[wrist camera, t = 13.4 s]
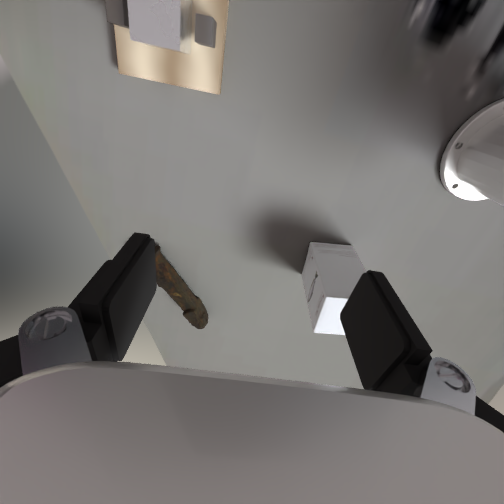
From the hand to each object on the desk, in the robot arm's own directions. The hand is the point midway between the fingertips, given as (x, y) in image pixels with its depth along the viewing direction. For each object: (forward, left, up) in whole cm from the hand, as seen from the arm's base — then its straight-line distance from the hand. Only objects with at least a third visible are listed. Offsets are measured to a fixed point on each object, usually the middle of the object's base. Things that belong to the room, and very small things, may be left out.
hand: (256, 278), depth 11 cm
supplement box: (-15, +16, -26) cm, 34 cm away
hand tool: (+9, +26, -27) cm, 39 cm away
